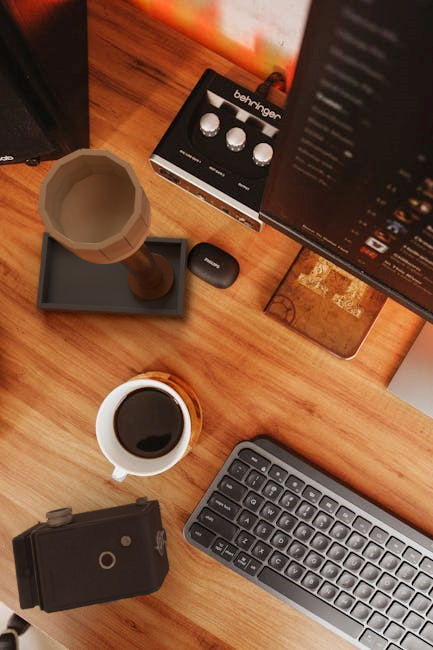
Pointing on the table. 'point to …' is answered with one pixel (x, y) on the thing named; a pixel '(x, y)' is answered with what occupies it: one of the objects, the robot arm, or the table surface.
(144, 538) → the camera
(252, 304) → the table surface
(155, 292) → the goblet
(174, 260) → the tray
